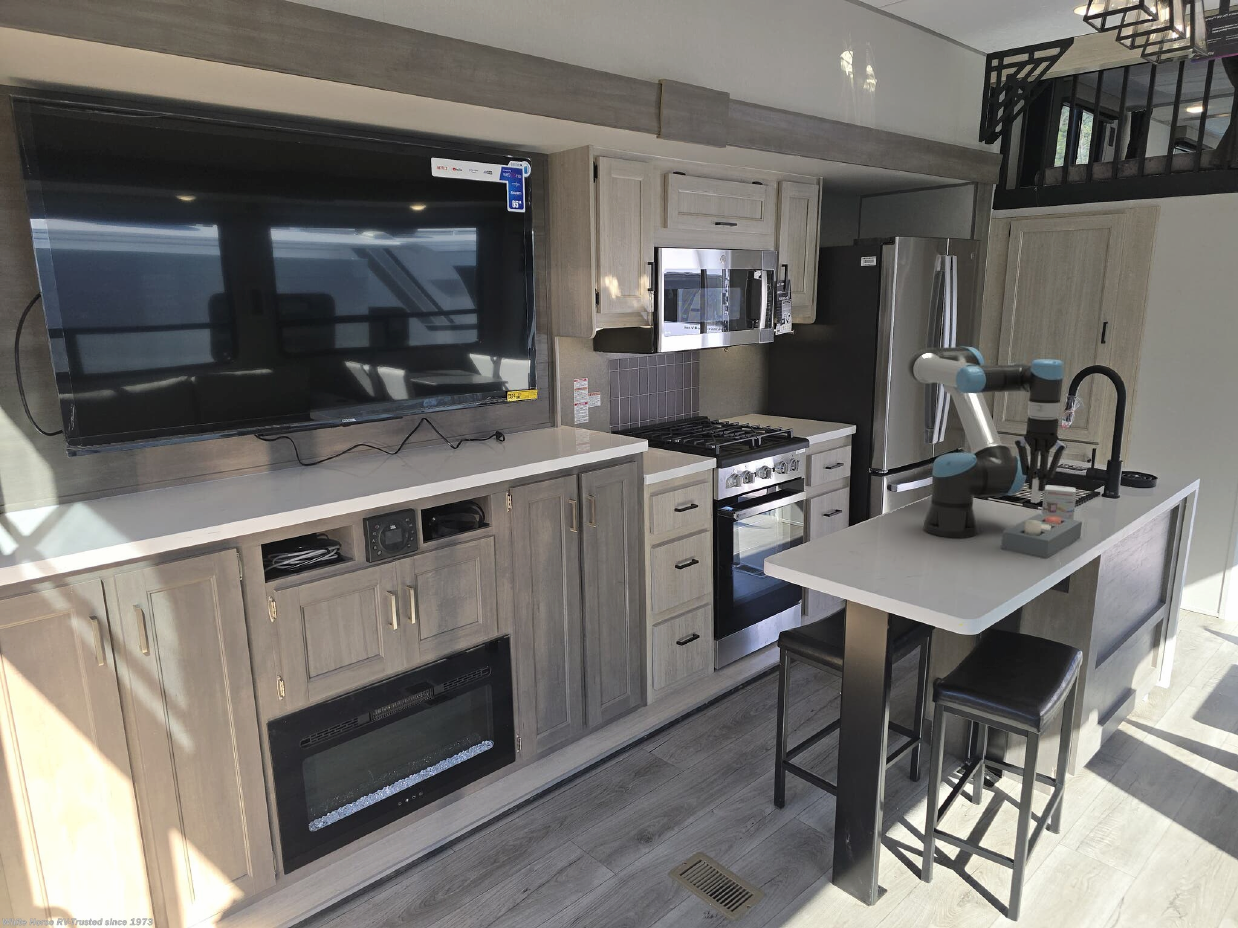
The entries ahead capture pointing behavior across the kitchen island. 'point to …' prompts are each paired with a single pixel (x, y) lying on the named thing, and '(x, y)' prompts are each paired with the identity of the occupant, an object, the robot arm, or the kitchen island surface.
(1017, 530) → the grey socket block
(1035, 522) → the ivory egg
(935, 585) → the kitchen island surface
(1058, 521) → the red egg
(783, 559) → the kitchen island surface
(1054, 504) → the ink box
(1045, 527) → the cream egg
